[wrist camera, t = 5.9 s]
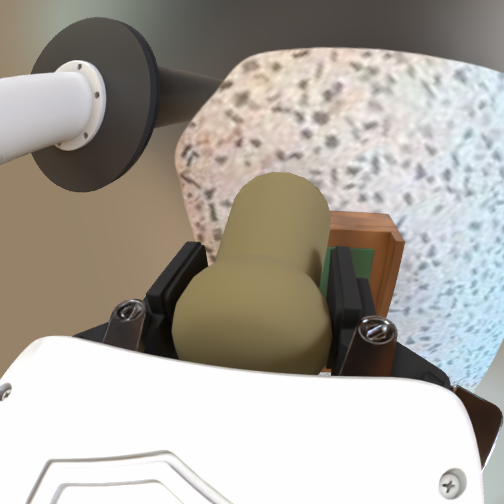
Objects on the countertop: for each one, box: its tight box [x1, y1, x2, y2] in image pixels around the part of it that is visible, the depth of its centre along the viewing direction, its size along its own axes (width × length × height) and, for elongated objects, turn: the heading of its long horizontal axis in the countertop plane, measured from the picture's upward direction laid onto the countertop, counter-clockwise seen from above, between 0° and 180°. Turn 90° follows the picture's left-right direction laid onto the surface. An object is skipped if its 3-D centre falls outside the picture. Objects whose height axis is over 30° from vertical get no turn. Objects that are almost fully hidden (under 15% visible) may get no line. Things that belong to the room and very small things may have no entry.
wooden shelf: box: [319, 211, 405, 372], centre depth 34 cm, size 12×22×7 cm, turn 2°
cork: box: [172, 172, 333, 375], centre depth 12 cm, size 6×6×11 cm
